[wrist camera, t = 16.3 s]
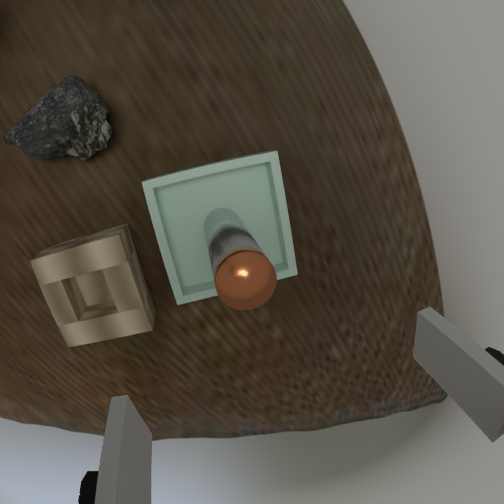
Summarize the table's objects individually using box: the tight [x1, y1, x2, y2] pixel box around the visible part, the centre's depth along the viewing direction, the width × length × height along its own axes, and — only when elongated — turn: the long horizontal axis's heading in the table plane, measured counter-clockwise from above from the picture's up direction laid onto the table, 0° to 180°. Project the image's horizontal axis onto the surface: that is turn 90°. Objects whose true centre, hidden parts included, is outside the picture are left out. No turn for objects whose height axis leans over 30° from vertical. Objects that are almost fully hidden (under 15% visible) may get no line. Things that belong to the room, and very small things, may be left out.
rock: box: [3, 75, 113, 161], centre depth 28 cm, size 12×10×10 cm
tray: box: [142, 151, 298, 305], centre depth 37 cm, size 15×15×3 cm
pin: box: [204, 208, 277, 310], centre depth 30 cm, size 4×4×16 cm
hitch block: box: [30, 223, 156, 347], centre depth 35 cm, size 12×12×5 cm
